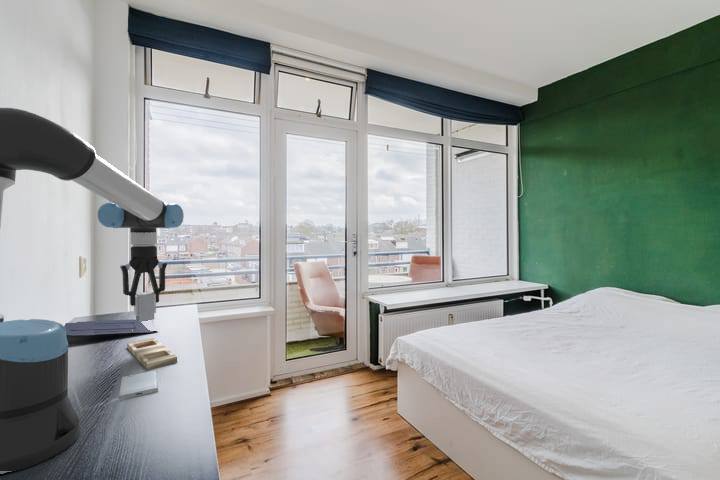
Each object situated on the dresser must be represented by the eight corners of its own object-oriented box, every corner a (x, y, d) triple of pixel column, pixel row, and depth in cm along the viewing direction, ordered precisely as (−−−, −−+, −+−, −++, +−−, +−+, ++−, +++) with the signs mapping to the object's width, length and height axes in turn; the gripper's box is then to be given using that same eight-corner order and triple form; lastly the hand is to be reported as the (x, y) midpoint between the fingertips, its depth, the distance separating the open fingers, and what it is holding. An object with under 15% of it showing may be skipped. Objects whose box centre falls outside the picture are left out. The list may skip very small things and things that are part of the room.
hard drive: (121, 376, 91) (118, 395, 80) (156, 369, 95) (158, 386, 85) (121, 382, 91) (118, 402, 80) (156, 375, 95) (158, 393, 85)
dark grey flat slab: (65, 328, 136) (66, 319, 136) (151, 325, 154) (152, 317, 154) (58, 344, 116) (59, 334, 116) (157, 338, 134) (158, 329, 135)
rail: (177, 363, 103) (177, 356, 103) (147, 371, 97) (147, 363, 97) (153, 343, 121) (153, 337, 121) (127, 349, 115) (127, 343, 115)
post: (154, 319, 114) (153, 293, 113) (139, 321, 111) (138, 295, 110) (150, 316, 117) (150, 291, 117) (136, 319, 114) (135, 293, 113)
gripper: (169, 244, 122) (169, 307, 123) (110, 245, 109) (111, 316, 110) (175, 245, 117) (176, 311, 117) (114, 246, 104) (116, 320, 105)
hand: (145, 313), depth 114 cm, fingers closed on post, 4 cm apart
